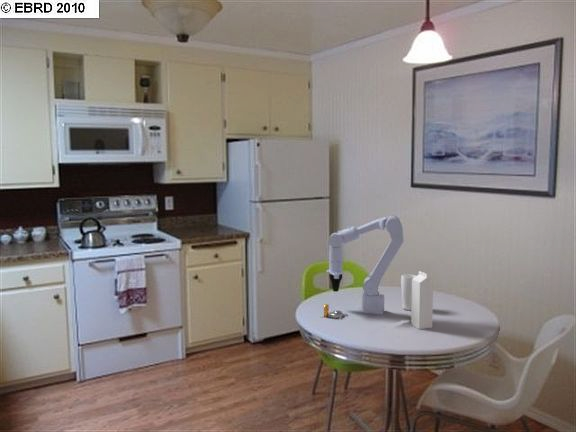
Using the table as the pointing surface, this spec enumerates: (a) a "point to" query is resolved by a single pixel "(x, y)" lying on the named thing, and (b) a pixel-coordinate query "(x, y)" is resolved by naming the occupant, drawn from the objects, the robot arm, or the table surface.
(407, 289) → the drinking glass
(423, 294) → the milk
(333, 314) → the dial
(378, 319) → the table surface
